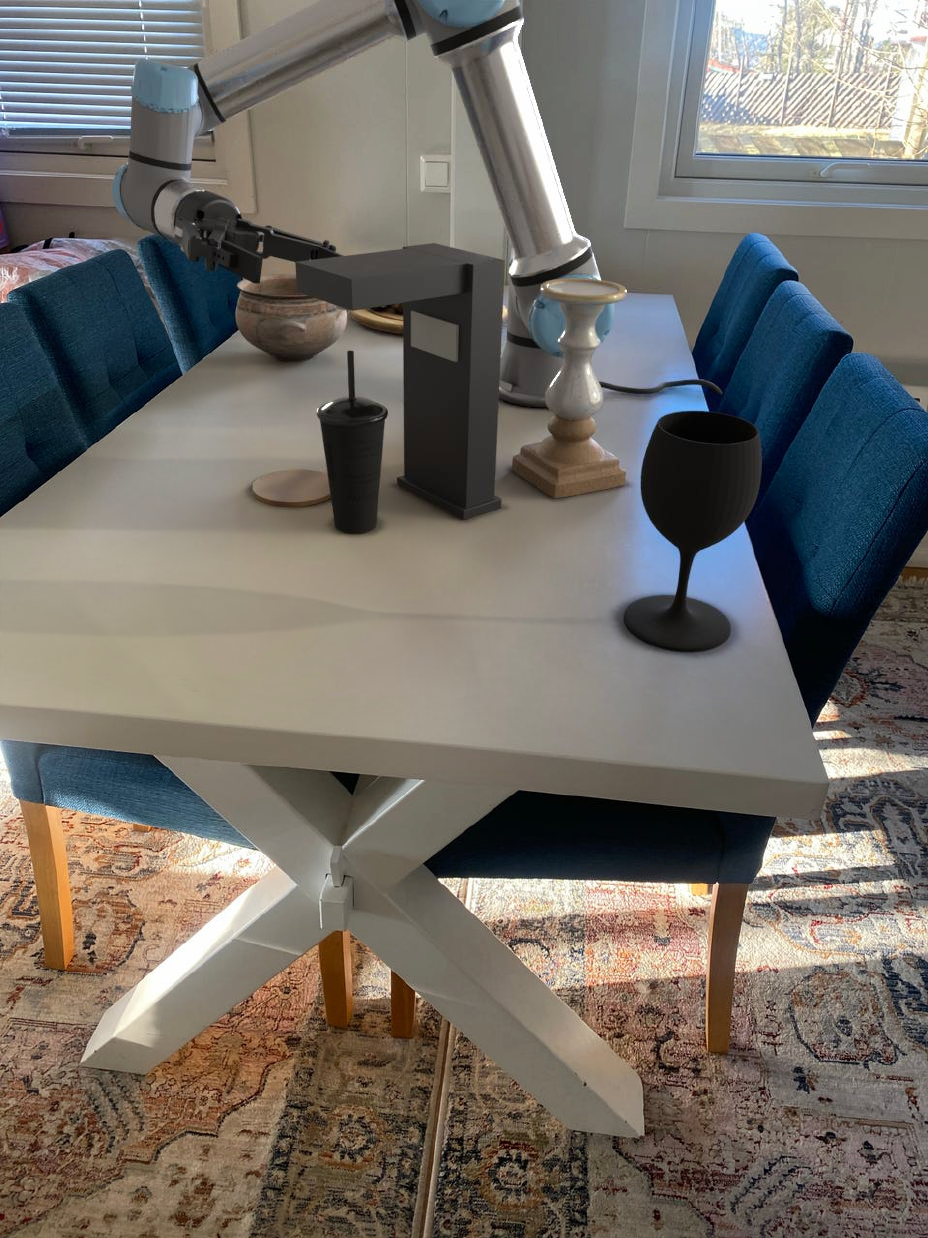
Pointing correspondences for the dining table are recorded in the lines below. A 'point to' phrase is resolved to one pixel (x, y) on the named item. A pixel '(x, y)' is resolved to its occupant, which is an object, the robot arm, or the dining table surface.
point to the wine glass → (694, 516)
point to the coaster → (292, 488)
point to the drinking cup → (353, 456)
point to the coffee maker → (434, 360)
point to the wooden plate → (389, 317)
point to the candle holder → (574, 399)
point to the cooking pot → (286, 318)
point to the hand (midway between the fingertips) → (309, 272)
